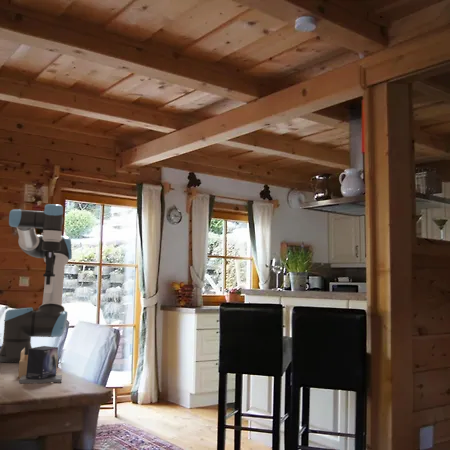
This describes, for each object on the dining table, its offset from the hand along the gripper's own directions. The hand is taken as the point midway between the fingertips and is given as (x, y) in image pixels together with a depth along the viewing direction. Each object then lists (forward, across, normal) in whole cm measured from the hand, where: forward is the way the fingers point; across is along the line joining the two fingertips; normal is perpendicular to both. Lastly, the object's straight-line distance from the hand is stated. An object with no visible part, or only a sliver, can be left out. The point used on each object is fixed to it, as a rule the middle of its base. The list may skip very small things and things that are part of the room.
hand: (48, 292), depth 227 cm
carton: (+31, +13, -1) cm, 33 cm away
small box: (+29, +29, +1) cm, 41 cm away
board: (+30, +29, +1) cm, 42 cm away
